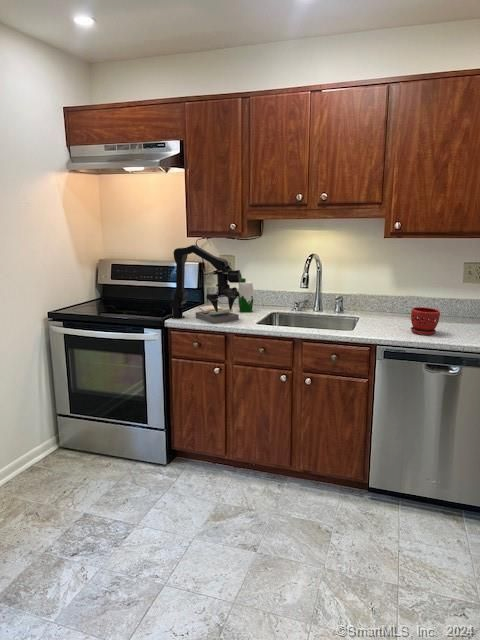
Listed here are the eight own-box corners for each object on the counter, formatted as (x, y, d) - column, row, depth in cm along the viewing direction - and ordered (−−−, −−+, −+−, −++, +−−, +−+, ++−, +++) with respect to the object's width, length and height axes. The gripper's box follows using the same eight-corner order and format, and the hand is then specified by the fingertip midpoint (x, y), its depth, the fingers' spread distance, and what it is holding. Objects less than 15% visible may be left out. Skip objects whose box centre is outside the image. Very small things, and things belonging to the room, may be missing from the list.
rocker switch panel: (195, 317, 267) (195, 312, 267) (218, 314, 277) (218, 308, 276) (214, 323, 252) (214, 318, 251) (238, 319, 261) (238, 314, 260)
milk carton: (238, 309, 289) (238, 277, 285) (252, 309, 289) (253, 277, 285) (238, 312, 281) (238, 279, 276) (253, 312, 281) (253, 279, 276)
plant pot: (420, 337, 223) (422, 312, 220) (404, 330, 235) (406, 307, 232) (443, 335, 226) (446, 311, 223) (427, 329, 238) (429, 306, 235)
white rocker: (199, 310, 267) (199, 307, 266) (216, 307, 274) (216, 304, 273) (204, 314, 263) (205, 310, 262) (222, 311, 270) (222, 308, 269)
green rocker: (209, 315, 259) (208, 311, 259) (226, 312, 266) (226, 308, 266) (214, 315, 254) (214, 311, 254) (232, 312, 261) (232, 309, 261)
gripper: (216, 285, 243) (217, 314, 246) (245, 282, 254) (245, 310, 257) (205, 283, 252) (206, 312, 255) (233, 280, 262) (234, 308, 265)
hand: (223, 310), depth 258 cm, fingers open, 9 cm apart
